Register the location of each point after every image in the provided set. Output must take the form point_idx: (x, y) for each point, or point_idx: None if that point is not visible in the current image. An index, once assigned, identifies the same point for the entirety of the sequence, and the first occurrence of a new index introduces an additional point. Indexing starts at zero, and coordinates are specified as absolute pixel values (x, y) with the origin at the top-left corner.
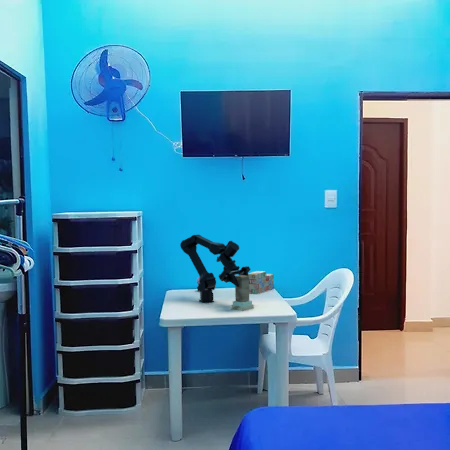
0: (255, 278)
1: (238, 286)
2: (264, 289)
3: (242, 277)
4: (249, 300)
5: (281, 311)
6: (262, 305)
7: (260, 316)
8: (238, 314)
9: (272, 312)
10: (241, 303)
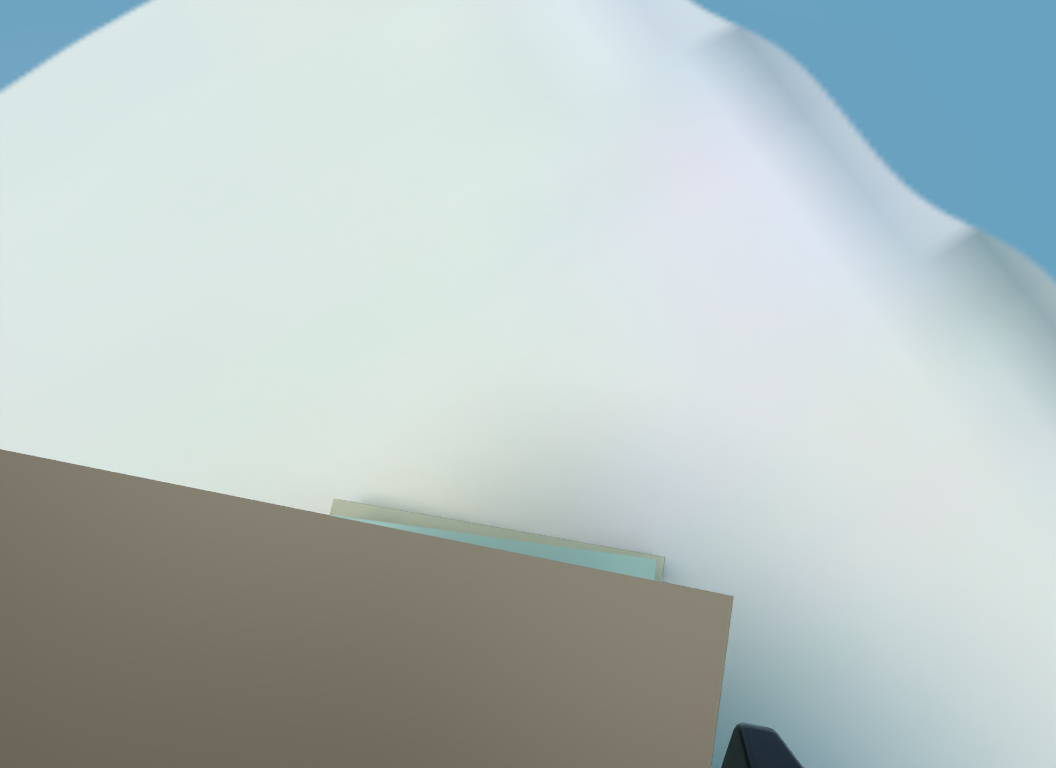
0: None
1: (766, 750)
2: None
3: (681, 589)
4: None
5: (348, 5)
6: None
7: (813, 105)
8: (927, 489)
9: (477, 82)
10: None
